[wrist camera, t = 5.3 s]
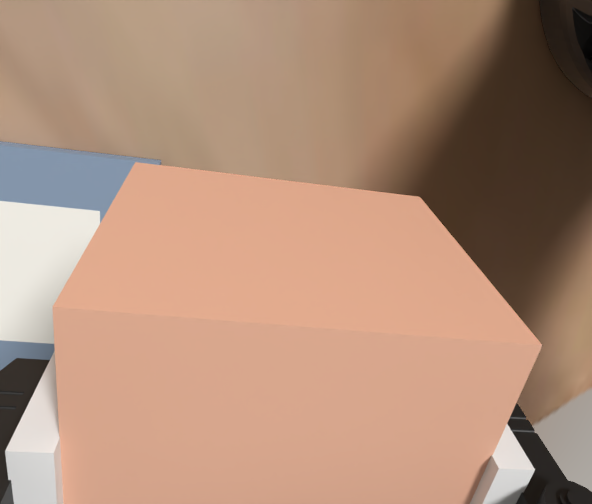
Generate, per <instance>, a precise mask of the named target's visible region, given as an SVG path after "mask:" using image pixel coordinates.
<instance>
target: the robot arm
mask: <svg viewBox="0 0 592 504" xmlns="http://www.w3.org/2000/svg"><path fill="white" fill-rule="evenodd" d="M540 11H541V18H542V24H543V28H544V32H545V36H546V39H547V42H548V45H549V48H550V50H551V52H552V54H553V57H554V58H555V60H556V62H557V64H558V66H559V67H560V69H561V70H562V71H563V73H564V74H565V75H566V77H567V78H568V79H569V80H570V81H571V82H572V83H573V84H574V85H575V86H576V87H577V88H578V89H579V90H581V91H582V92H583V93H584V94H586V95H587V96H589V97H590V98H592V0H540ZM0 504H64V503H63V484H62V466H61V447H60V437H59V420H58V401H57V383H56V364H55V351H54V353H53V355H52V357H51V359H50V360H42V359H26V358H16V359H15V360H13V361H12V362H11V363H9V364H8V365H7V366H6V367H4V368H3V369H2V370H0ZM470 504H592V492H591V491H589V490H588V489H587V488H585V487H583V486H581V485H578V484H577V483H575V482H571V481H568V480H567V479H566V477H565V476H564V474H563V473H562V471H561V470H560V468H559V466H558V465H557V463H556V462H555V460H554V459H553V457H552V456H551V454H550V453H549V451H548V450H547V448H546V447H545V445H544V444H543V442H542V441H541V439H540V438H539V436H538V434H536V433H534V428H533V427H532V425H531V424H530V422H529V421H528V420H526V416H525V415H524V413H523V412H522V410H521V409H520V407H519V406H518V404H517V403H516V405H515V407H514V409H513V412H512V414H511V416H510V418H509V420H508V423H507V425H506V427H505V429H504V431H503V434H502V436H501V438H500V440H499V442H498V445H497V447H496V449H495V451H494V453H493V455H492V456H491V458H490V460H489V462H488V465H487V467H486V469H485V471H484V473H483V476H482V478H481V480H480V482H479V484H478V487H477V489H476V491H475V493H474V495H473V498H472V500H471V502H470Z"/></svg>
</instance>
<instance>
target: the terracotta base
mask: <svg viewBox="0 0 592 504" xmlns="http://www.w3.org/2000/svg"><path fill="white" fill-rule="evenodd" d="M52 309H53V327H54V346H55V364H56V383H57V401H58V420H59V437H60V447H61V466H62V484H63V503H64V504H470V502H471V500H472V498H473V495H474V493H475V491H476V489H477V487H478V484H479V482H480V480H481V478H482V476H483V473H484V471H485V469H486V467H487V465H488V462H489V460H490V458H491V456H492V455H493V453H494V451H495V449H496V447H497V445H498V442H499V440H500V438H501V436H502V434H503V431H504V429H505V427H506V425H507V423H508V420H509V418H510V416H511V414H512V412H513V409H514V407H515V405H516V403H517V401H518V398H519V396H520V394H521V392H522V390H523V387H524V385H525V383H526V381H527V379H528V376H529V374H530V372H531V370H532V368H533V365H534V363H535V361H536V359H537V357H538V354H539V352H540V350H541V348H542V346H543V345H542V344H541V343H540V342H539V341H538V339H537V338H536V337H535V336H534V334H533V333H532V332H531V331H530V330H529V328H528V327H527V326H526V325H525V324H524V322H523V321H522V320H521V319H520V318H519V316H518V315H517V314H516V313H515V311H514V310H513V309H512V308H511V307H510V305H509V304H508V303H507V302H506V301H505V299H504V298H503V297H502V296H501V295H500V293H499V292H498V291H497V290H496V288H495V287H494V286H493V285H492V284H491V282H490V281H489V280H488V279H487V278H486V276H485V275H484V274H483V273H482V271H481V270H480V269H479V268H478V267H477V265H476V264H475V263H474V262H473V261H472V259H471V258H470V257H469V256H468V255H467V253H466V252H465V251H464V250H463V248H462V247H461V246H460V245H459V244H458V242H457V241H456V240H455V239H454V238H453V236H452V235H451V234H450V233H449V232H448V230H447V229H446V228H445V227H444V225H443V224H442V223H441V222H440V221H439V219H438V218H437V217H436V216H435V215H434V213H433V212H432V211H431V210H430V209H429V207H428V206H427V205H426V204H425V202H424V201H423V200H422V199H421V198H420V197H417V196H409V195H401V194H393V193H385V192H376V191H368V190H360V189H352V188H344V187H335V186H327V185H319V184H311V183H303V182H294V181H286V180H278V179H270V178H262V177H253V176H245V175H237V174H229V173H221V172H212V171H204V170H196V169H188V168H180V167H171V166H163V165H155V164H147V163H139V162H135V164H134V165H133V167H132V169H131V171H130V172H129V174H128V176H127V178H126V179H125V181H124V183H123V185H122V186H121V188H120V190H119V191H118V193H117V195H116V197H115V198H114V200H113V202H112V204H111V205H110V207H109V209H108V211H107V212H106V214H105V216H104V218H103V219H102V221H101V223H100V225H99V226H98V228H97V230H96V232H95V233H94V235H93V237H92V239H91V240H90V242H89V244H88V246H87V247H86V249H85V251H84V253H83V254H82V256H81V258H80V260H79V261H78V263H77V265H76V267H75V268H74V270H73V272H72V274H71V275H70V277H69V279H68V281H67V282H66V284H65V286H64V288H63V289H62V291H61V293H60V295H59V296H58V298H57V300H56V302H55V303H54V305H53V307H52Z"/></svg>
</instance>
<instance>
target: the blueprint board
mask: <svg viewBox="0 0 592 504" xmlns="http://www.w3.org/2000/svg"><path fill="white" fill-rule="evenodd" d="M135 162H139V163H147V164H155V165H161V160H154V159H145V158H137V157H128V156H120V155H111V154H103V153H94V152H86V151H77V150H69V149H60V148H52V147H43V146H35V145H26V144H18V143H9V142H1V141H0V370H2V369H3V368H4V367H6V366H7V365H8V364H9V363H11V362H12V361H13V360H15V359H16V358H26V359H42V360H50V359H51V357H52V355H53V353H54V351H55V346H54V327H53V309H52V307H53V305H54V303H55V302H56V300H57V298H58V296H59V295H60V293H61V291H62V289H63V288H64V286H65V284H66V282H67V281H68V279H69V277H70V275H71V274H72V272H73V270H74V268H75V267H76V265H77V263H78V261H79V260H80V258H81V256H82V254H83V253H84V251H85V249H86V247H87V246H88V244H89V242H90V240H91V239H92V237H93V235H94V233H95V232H96V230H97V228H98V226H99V225H100V223H101V221H102V219H103V218H104V216H105V214H106V212H107V211H108V209H109V207H110V205H111V204H112V202H113V200H114V198H115V197H116V195H117V193H118V191H119V190H120V188H121V186H122V185H123V183H124V181H125V179H126V178H127V176H128V174H129V172H130V171H131V169H132V167H133V165H134V164H135Z"/></svg>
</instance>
